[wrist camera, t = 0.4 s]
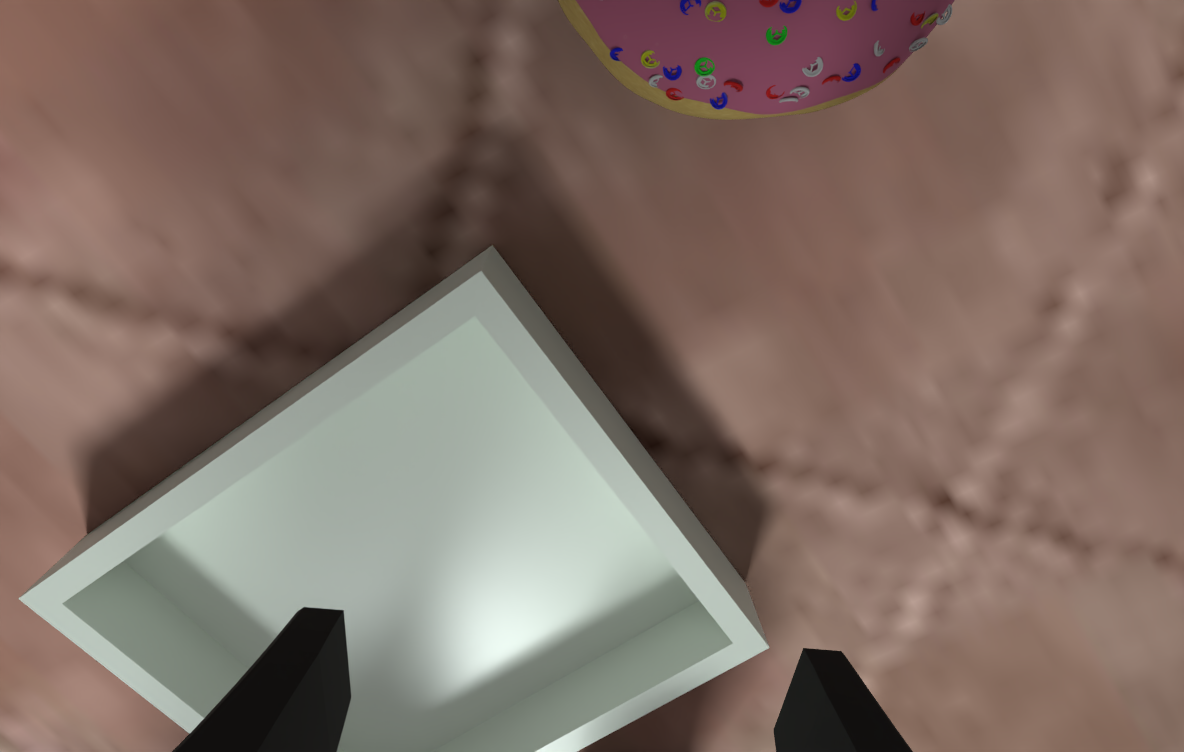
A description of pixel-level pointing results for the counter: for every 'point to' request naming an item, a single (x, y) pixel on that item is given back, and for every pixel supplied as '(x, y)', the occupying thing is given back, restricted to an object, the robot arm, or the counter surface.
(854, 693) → the robot arm
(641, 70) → the cupcake
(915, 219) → the counter surface
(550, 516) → the tray
